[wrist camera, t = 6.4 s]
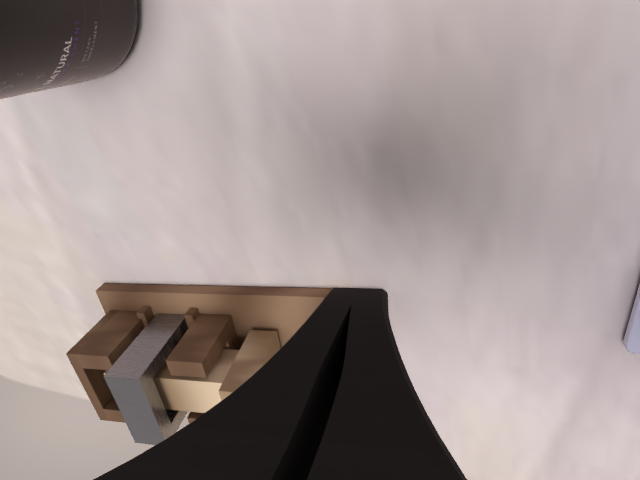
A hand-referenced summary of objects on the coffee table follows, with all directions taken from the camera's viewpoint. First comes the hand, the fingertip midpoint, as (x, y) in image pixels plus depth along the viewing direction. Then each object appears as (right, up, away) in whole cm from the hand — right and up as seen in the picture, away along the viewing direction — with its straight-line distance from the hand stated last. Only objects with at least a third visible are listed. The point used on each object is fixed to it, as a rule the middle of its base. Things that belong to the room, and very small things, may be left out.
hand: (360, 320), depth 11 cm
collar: (-10, -5, +15) cm, 19 cm away
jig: (-6, -4, +15) cm, 17 cm away
